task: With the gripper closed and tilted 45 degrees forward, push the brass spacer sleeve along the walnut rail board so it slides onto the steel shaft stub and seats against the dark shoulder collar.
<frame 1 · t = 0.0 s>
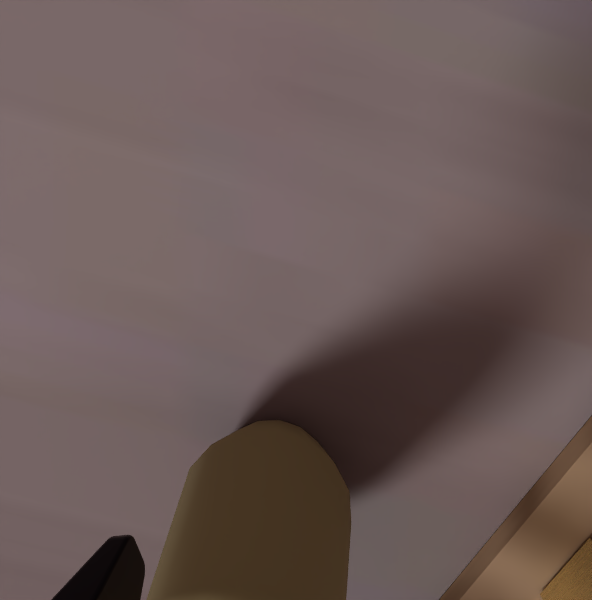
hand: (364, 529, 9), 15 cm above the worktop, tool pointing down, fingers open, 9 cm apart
squeeze bottle: (273, 466, 26), on the worktop
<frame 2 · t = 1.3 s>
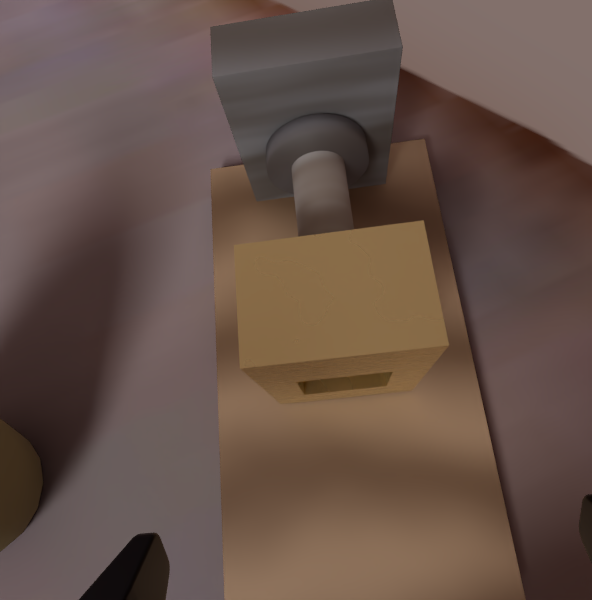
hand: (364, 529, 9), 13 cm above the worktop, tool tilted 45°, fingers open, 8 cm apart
spacer: (338, 330, 18), point 6 cm above the worktop, slide at 0.0 cm
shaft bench: (339, 351, 24), on the worktop
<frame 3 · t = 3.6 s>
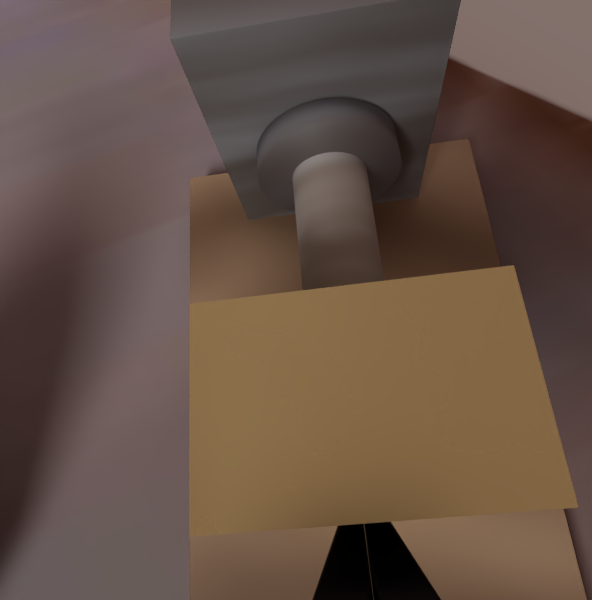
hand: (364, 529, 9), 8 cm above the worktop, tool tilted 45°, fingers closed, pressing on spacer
spacer: (359, 420, 12), point 6 cm above the worktop, slide at 0.0 cm, touching gripper
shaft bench: (357, 424, 18), on the worktop
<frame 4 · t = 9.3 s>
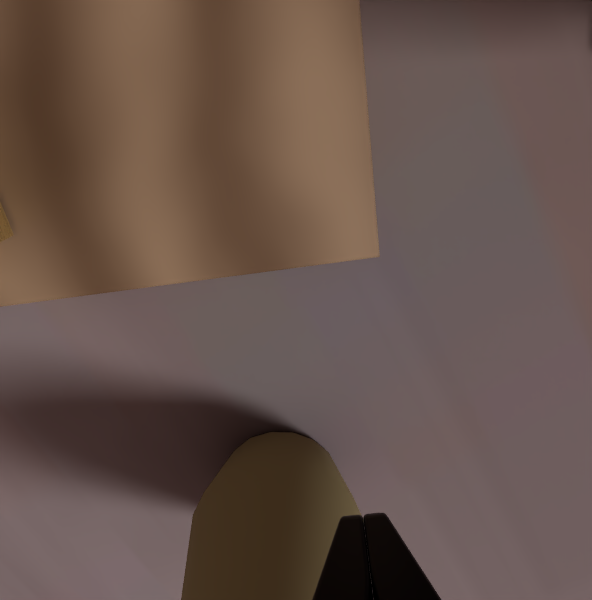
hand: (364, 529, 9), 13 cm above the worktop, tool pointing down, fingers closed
squeeze bottle: (281, 468, 26), on the worktop
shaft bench: (82, 140, 19), on the worktop
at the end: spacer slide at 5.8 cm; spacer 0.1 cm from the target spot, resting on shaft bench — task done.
